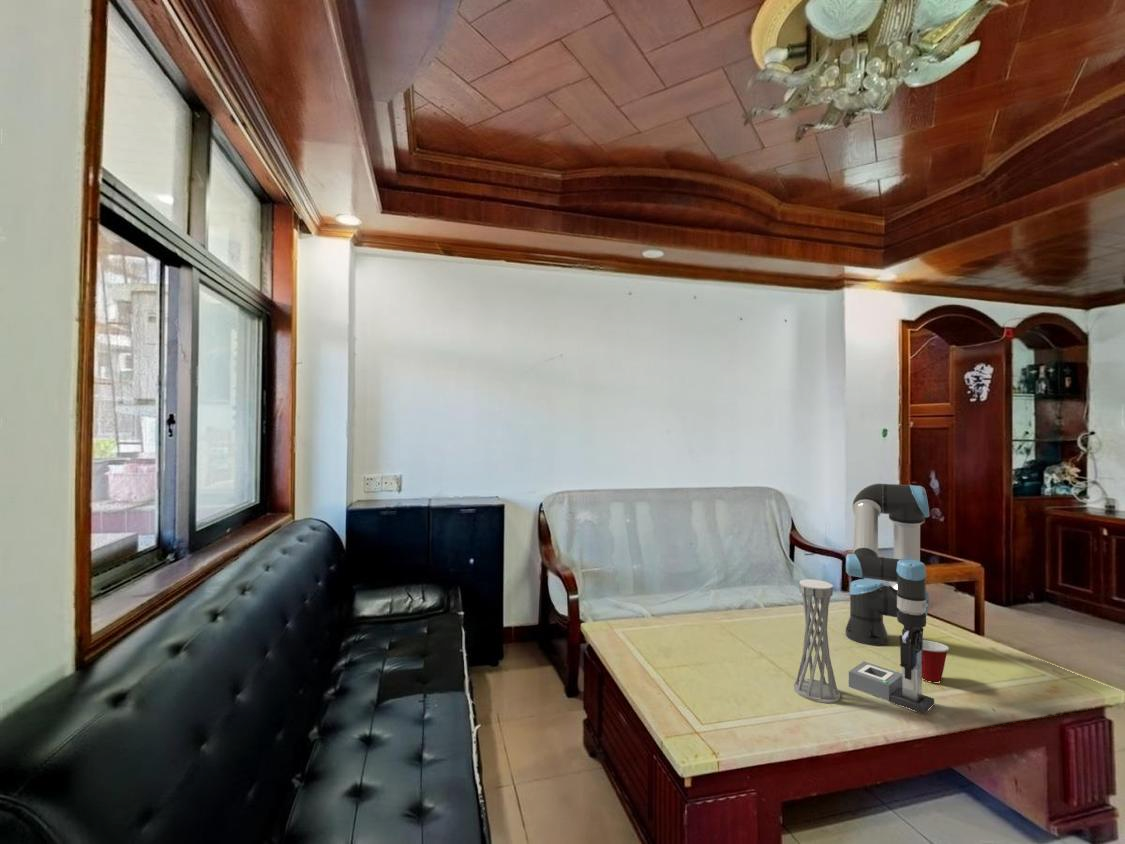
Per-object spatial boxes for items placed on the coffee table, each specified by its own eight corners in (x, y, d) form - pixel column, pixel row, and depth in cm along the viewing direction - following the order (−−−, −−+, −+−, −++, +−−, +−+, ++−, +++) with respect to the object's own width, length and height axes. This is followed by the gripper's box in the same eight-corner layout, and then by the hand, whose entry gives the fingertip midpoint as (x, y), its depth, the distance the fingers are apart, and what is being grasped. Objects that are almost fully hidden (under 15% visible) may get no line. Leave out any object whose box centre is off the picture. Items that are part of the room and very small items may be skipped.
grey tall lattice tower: (838, 707, 159) (837, 592, 159) (790, 695, 166) (790, 585, 166) (841, 688, 170) (840, 581, 171) (797, 678, 177) (796, 575, 178)
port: (848, 686, 172) (848, 670, 172) (863, 675, 179) (863, 660, 179) (889, 701, 162) (889, 684, 162) (903, 689, 170) (903, 673, 170)
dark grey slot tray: (890, 702, 162) (890, 696, 162) (901, 693, 167) (901, 687, 167) (924, 715, 155) (924, 708, 155) (934, 705, 160) (934, 698, 160)
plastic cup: (928, 670, 183) (928, 636, 183) (957, 685, 173) (957, 649, 173) (902, 673, 181) (902, 639, 181) (931, 688, 170) (930, 652, 170)
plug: (902, 697, 161) (902, 649, 162) (907, 693, 164) (906, 645, 164) (917, 702, 158) (916, 653, 158) (921, 698, 161) (921, 649, 161)
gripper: (915, 621, 153) (916, 700, 153) (934, 608, 164) (935, 682, 164) (887, 613, 159) (887, 690, 159) (907, 601, 170) (908, 673, 169)
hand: (912, 686), depth 161 cm, fingers closed on plug, 4 cm apart
